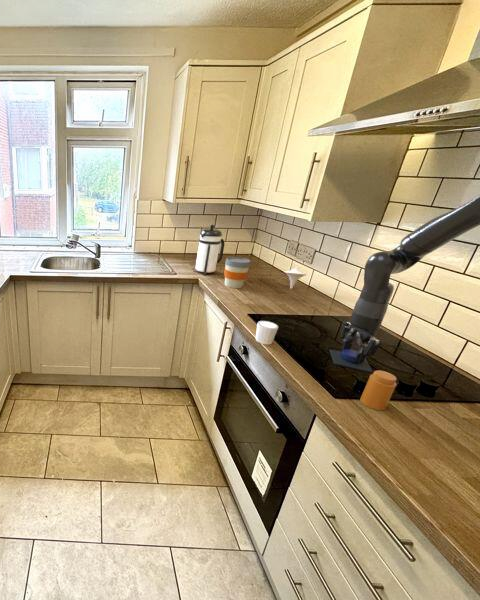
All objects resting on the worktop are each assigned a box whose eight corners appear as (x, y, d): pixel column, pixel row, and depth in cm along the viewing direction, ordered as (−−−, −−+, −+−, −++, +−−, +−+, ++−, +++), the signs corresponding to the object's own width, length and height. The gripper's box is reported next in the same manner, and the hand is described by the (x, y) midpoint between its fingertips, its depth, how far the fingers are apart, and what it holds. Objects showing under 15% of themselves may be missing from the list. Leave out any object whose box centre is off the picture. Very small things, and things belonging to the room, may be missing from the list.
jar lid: (349, 352, 110) (351, 347, 109) (366, 361, 105) (368, 356, 104) (336, 354, 109) (338, 349, 108) (353, 363, 104) (354, 358, 103)
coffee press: (218, 277, 191) (227, 227, 180) (190, 273, 198) (198, 225, 186) (219, 270, 206) (228, 223, 195) (194, 266, 212) (201, 221, 201)
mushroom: (278, 284, 180) (283, 264, 175) (300, 287, 176) (306, 266, 171) (281, 290, 171) (286, 269, 167) (304, 293, 167) (310, 271, 163)
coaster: (329, 350, 114) (329, 349, 114) (364, 358, 109) (365, 356, 109) (333, 364, 106) (334, 363, 105) (372, 373, 101) (372, 371, 101)
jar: (375, 397, 90) (387, 369, 86) (390, 410, 85) (404, 381, 82) (355, 396, 91) (366, 368, 87) (369, 409, 86) (382, 380, 82)
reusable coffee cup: (234, 281, 185) (239, 256, 180) (250, 288, 174) (256, 261, 169) (216, 282, 182) (221, 257, 177) (231, 290, 171) (236, 263, 165)
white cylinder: (273, 347, 116) (278, 330, 113) (252, 342, 119) (256, 325, 116) (274, 339, 121) (279, 323, 118) (254, 334, 124) (258, 318, 122)
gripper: (340, 303, 107) (326, 346, 114) (373, 322, 94) (355, 369, 101) (364, 304, 107) (347, 347, 113) (400, 323, 94) (379, 370, 100)
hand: (351, 357), depth 107 cm, fingers closed on jar lid, 5 cm apart
